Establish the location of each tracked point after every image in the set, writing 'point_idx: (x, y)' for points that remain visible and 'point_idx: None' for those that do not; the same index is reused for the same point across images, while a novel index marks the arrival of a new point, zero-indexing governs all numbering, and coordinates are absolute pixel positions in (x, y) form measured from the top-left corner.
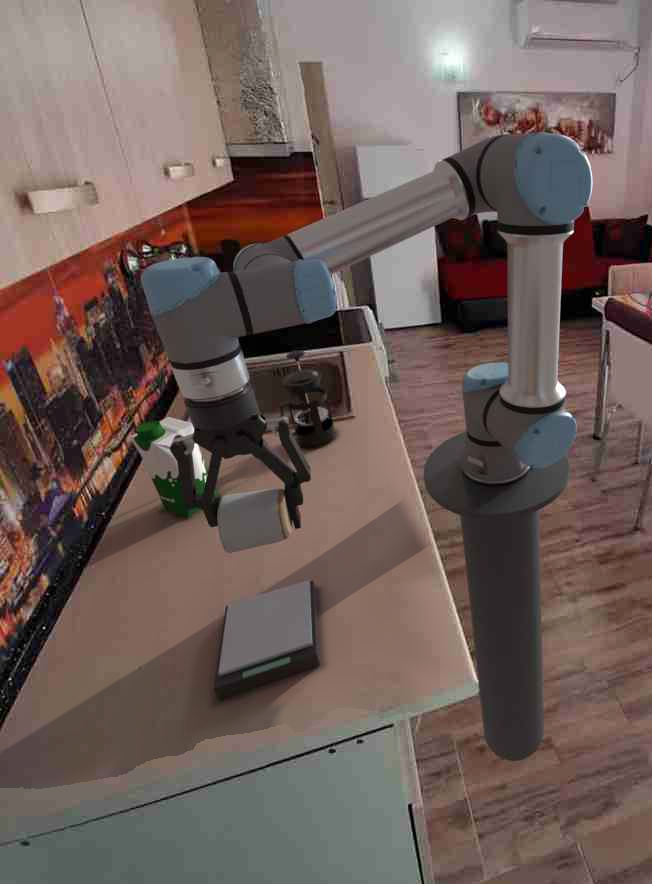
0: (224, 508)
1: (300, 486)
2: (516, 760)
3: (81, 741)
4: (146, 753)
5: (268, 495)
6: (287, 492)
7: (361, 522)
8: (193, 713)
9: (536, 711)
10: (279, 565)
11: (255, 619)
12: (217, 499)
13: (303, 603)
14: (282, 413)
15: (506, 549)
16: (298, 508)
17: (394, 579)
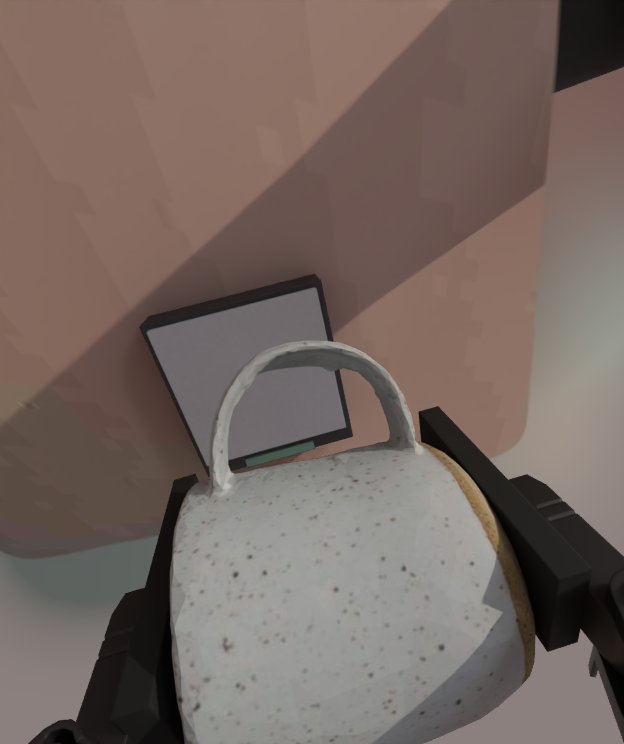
0: None
1: (600, 542)
2: None
3: (31, 499)
4: (145, 511)
5: (483, 713)
6: (560, 643)
7: (406, 15)
8: (181, 472)
9: None
10: (201, 169)
11: (228, 376)
12: (142, 722)
13: None
14: None
15: (604, 69)
16: (458, 428)
17: (468, 268)
